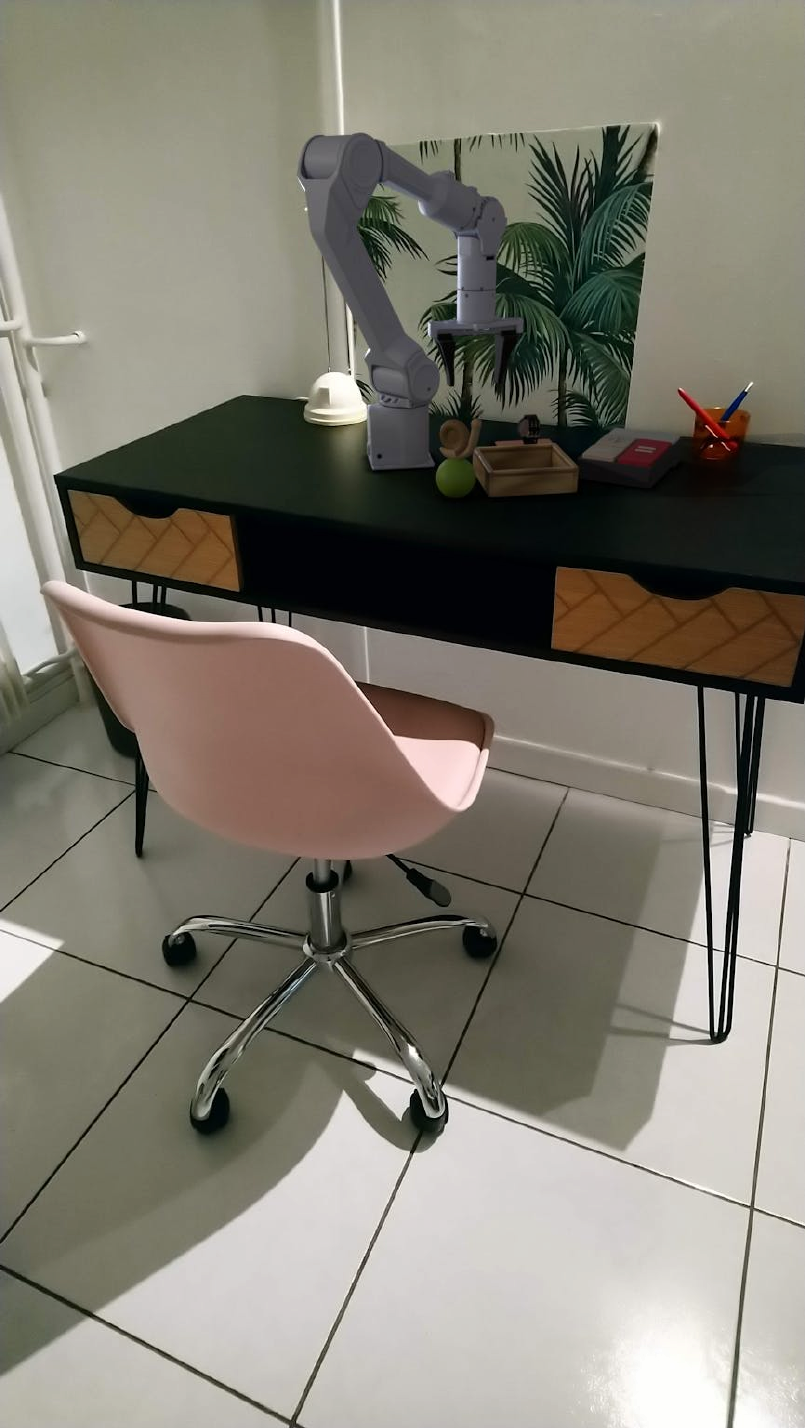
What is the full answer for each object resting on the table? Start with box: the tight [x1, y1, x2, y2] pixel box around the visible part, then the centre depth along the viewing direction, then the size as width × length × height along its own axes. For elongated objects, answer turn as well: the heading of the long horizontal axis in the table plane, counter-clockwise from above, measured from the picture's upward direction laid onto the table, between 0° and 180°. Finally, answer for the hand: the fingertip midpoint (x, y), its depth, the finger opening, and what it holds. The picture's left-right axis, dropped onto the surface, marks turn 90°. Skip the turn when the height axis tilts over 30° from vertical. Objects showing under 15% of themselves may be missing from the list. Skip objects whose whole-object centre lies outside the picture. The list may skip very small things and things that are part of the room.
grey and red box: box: [576, 427, 684, 490], centre depth 130 cm, size 11×4×15 cm
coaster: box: [494, 438, 554, 446], centre depth 141 cm, size 9×9×1 cm
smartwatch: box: [516, 413, 541, 445], centre depth 140 cm, size 4×5×5 cm
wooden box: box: [472, 442, 579, 498], centre depth 127 cm, size 12×12×4 cm
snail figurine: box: [435, 409, 484, 499], centre depth 119 cm, size 5×6×12 cm
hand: (474, 383), depth 140 cm, fingers open, 7 cm apart
